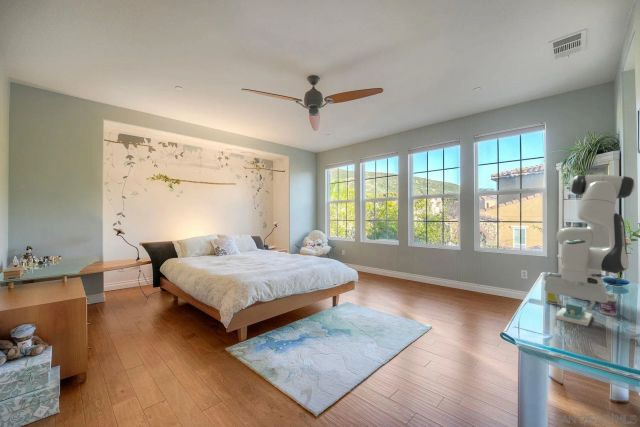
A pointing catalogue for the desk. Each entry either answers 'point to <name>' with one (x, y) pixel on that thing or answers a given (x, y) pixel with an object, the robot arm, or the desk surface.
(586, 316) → the post board
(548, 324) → the desk surface
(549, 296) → the supplement bottle
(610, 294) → the pill bottle
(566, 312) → the teal bar
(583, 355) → the desk surface
